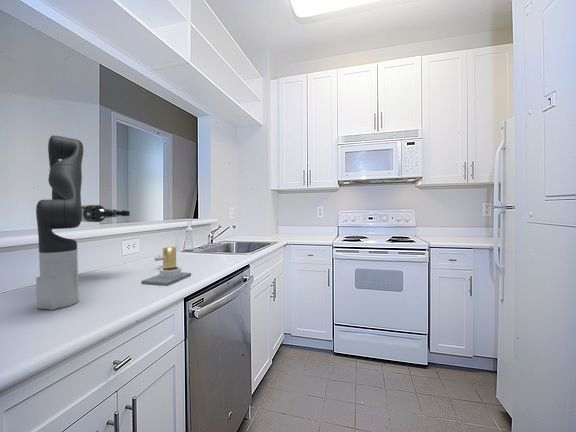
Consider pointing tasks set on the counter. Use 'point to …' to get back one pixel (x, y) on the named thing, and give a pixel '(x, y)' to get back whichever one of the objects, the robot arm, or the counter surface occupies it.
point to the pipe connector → (160, 258)
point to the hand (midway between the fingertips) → (121, 213)
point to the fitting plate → (166, 277)
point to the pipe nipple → (170, 258)
